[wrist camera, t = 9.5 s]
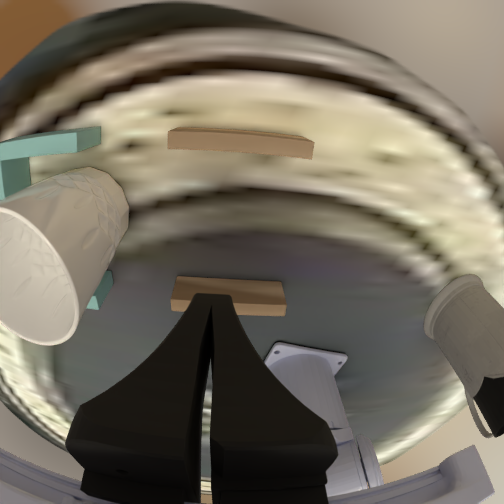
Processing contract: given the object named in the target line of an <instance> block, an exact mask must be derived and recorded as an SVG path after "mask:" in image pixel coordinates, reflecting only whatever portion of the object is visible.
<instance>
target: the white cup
mask: <svg viewBox="0 0 504 504" xmlns="http://www.w3.org/2000/svg"><path fill="white" fill-rule="evenodd" d="M128 221H129V206H128V203H127V201H126V198H125V195H124V193H123V190H122V188H121V187H120V186H119V185H118V184H117V183H116V181H115V180H114V179H113V178H112V177H111V176H110V175H109V174H108V173H106V172H103V171H100V170H98V169H95V168H92V167H85V168H79V169H73V170H70V171H68V172H65V173H62V174H58V175H55V176H52V177H50V178H47V179H45V180H42V181H39V182H37V183H35V184H32V185H30V186H28V187H26V188H24V189H22V190H20V191H18V192H16V193H14V194H12V195H10V196H8V197H6V198H4V199H2V200H0V323H1V324H2V325H3V326H5V327H6V328H7V329H8V330H10V331H11V332H12V333H14V334H16V335H17V336H19V337H21V338H23V339H25V340H27V341H30V342H32V343H36V344H40V345H57V344H60V343H63V342H65V341H66V340H68V339H69V338H70V337H71V336H72V335H73V333H74V332H75V330H76V328H77V326H78V324H79V322H80V320H81V318H82V316H83V314H84V312H85V310H86V308H87V306H88V304H89V302H90V300H91V298H92V296H93V294H94V292H95V290H96V289H97V287H98V285H99V283H100V282H101V280H102V278H103V275H104V273H105V271H106V270H107V268H108V266H109V264H110V262H111V260H112V258H113V257H114V255H115V252H116V248H117V247H118V245H119V243H120V241H121V240H122V238H123V236H124V234H125V232H126V231H127V229H128Z"/></svg>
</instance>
